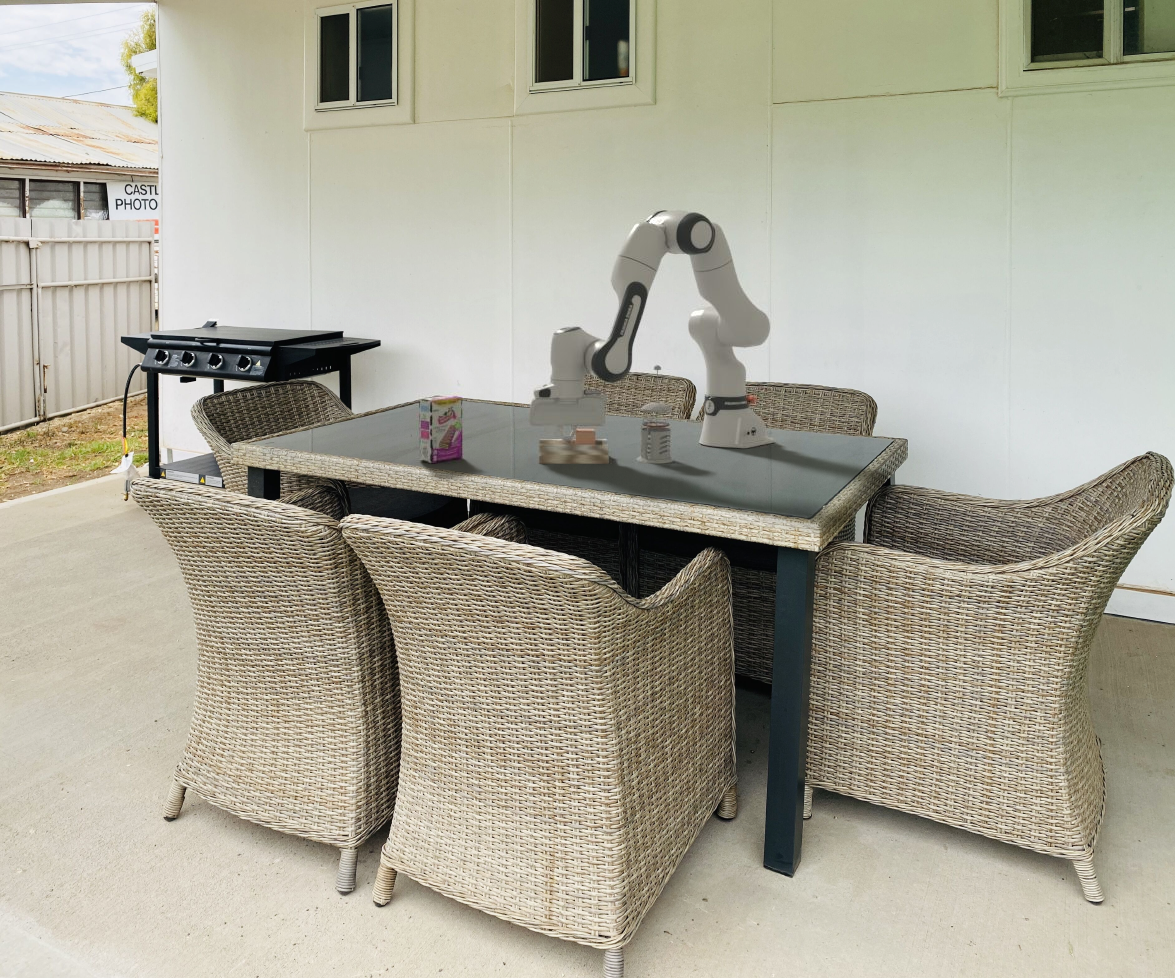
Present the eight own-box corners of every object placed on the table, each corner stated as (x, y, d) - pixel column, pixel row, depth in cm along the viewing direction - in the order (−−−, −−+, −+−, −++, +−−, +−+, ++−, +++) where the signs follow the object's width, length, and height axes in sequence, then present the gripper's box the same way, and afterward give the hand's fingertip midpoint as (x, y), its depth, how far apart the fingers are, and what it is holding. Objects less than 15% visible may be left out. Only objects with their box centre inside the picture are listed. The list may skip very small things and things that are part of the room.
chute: (605, 454, 264) (606, 438, 263) (608, 463, 252) (609, 446, 251) (539, 454, 263) (539, 438, 262) (539, 463, 252) (539, 446, 251)
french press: (679, 458, 260) (682, 364, 254) (660, 466, 250) (662, 368, 244) (647, 455, 264) (649, 362, 259) (626, 461, 255) (628, 366, 249)
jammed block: (594, 449, 260) (594, 428, 259) (595, 453, 255) (595, 432, 253) (575, 449, 260) (575, 428, 259) (576, 453, 254) (576, 432, 253)
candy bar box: (432, 464, 249) (430, 400, 246) (419, 461, 253) (417, 398, 249) (464, 458, 258) (463, 396, 254) (451, 455, 261) (449, 394, 257)
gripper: (606, 388, 257) (605, 440, 260) (528, 388, 257) (529, 440, 260) (607, 391, 251) (607, 444, 254) (528, 391, 250) (528, 444, 253)
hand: (567, 442), depth 257 cm, fingers closed
